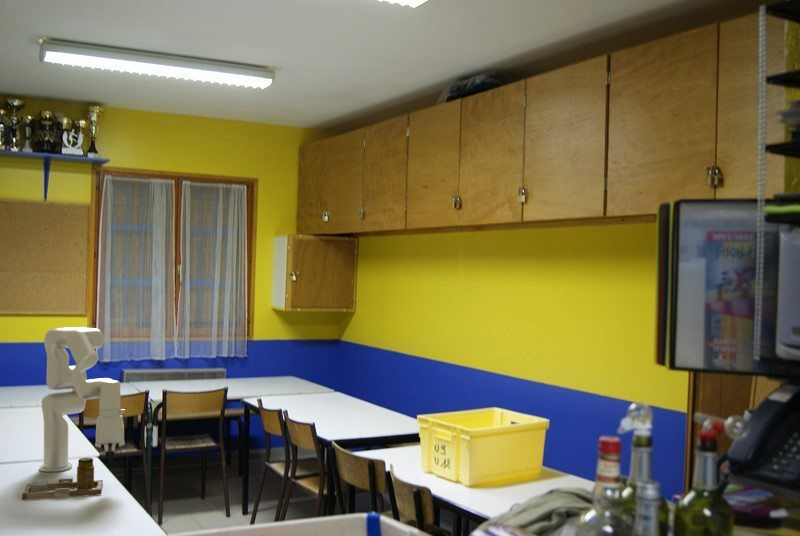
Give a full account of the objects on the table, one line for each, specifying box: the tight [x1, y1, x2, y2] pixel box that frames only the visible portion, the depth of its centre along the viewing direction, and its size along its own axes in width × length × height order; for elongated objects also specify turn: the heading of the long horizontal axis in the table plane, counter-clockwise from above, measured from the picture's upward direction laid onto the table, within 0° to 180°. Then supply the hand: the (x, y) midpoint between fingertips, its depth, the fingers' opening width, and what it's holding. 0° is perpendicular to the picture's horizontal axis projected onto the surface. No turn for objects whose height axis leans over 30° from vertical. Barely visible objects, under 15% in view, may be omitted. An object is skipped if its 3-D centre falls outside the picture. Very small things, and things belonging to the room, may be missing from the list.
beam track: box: [21, 477, 104, 501], centre depth 313 cm, size 16×27×4 cm, turn 107°
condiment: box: [73, 457, 95, 490], centre depth 315 cm, size 7×8×12 cm
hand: (109, 461), depth 318 cm, fingers closed
